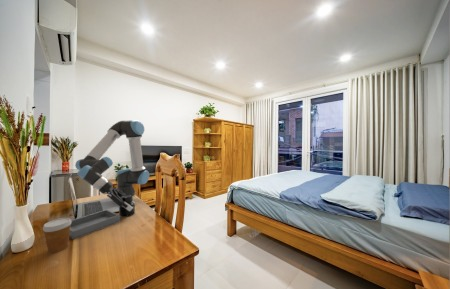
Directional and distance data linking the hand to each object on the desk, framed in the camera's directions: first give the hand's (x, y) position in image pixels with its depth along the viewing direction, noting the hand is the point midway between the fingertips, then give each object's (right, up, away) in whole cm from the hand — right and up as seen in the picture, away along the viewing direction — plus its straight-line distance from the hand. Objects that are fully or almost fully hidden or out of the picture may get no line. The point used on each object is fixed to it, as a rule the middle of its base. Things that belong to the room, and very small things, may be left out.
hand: (132, 206), depth 115 cm
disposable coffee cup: (-14, -6, -37) cm, 40 cm away
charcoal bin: (-14, -5, -16) cm, 22 cm away
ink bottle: (-3, -4, -1) cm, 6 cm away
